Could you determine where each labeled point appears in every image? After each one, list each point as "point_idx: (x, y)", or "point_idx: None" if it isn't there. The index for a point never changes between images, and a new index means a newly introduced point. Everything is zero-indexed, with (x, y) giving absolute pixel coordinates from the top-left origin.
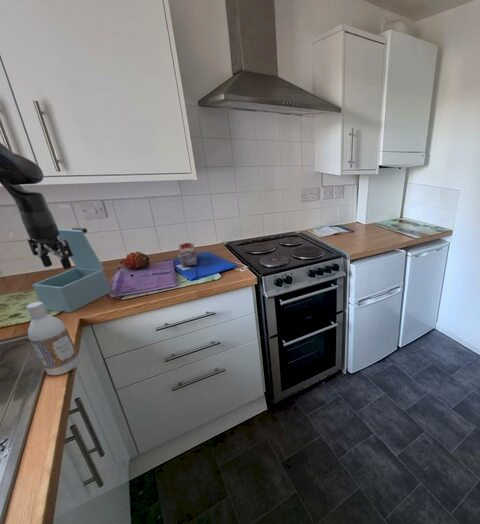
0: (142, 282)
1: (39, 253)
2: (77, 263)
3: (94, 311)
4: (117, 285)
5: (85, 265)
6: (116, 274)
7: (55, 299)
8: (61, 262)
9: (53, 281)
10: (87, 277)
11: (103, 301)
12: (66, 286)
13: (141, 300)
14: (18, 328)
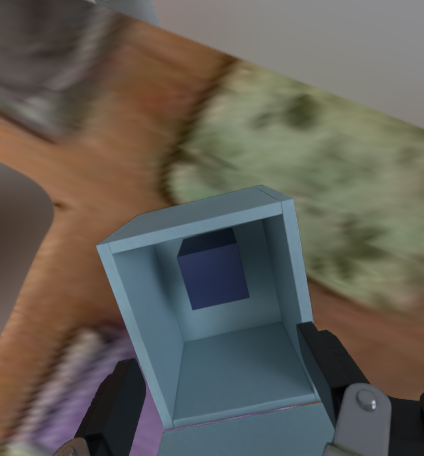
0: (156, 416)
1: (360, 441)
2: (310, 424)
3: (77, 251)
4: None
5: (258, 426)
6: None
7: (178, 212)
8: (108, 405)
9: (288, 276)
10: (140, 360)
11: None
12: (106, 269)
13: (25, 350)
14: (177, 74)
